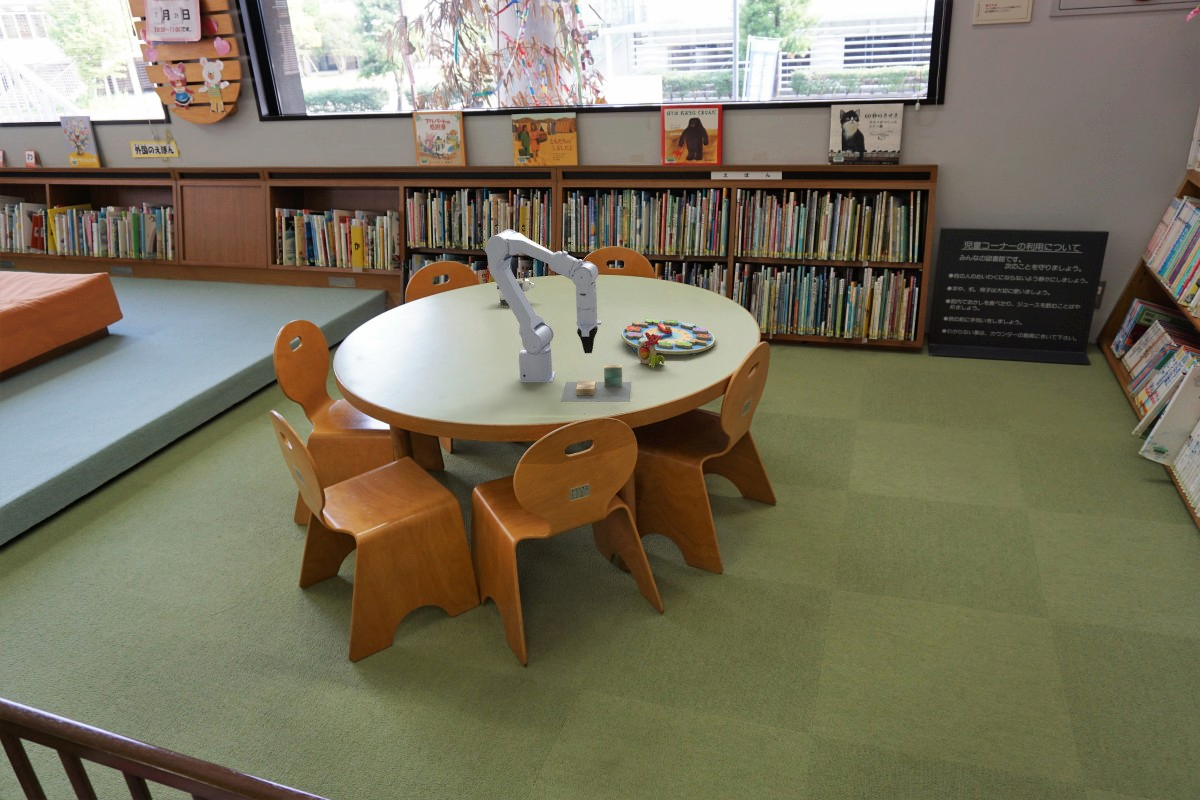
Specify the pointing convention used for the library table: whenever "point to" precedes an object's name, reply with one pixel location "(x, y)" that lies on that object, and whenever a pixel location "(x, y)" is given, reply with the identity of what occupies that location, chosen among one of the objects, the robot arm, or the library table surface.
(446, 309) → the library table surface
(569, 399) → the felt mat
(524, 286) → the giant panda
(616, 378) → the right oak tile
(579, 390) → the left oak tile
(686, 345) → the shape sorting clock
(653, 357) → the bird rattle
